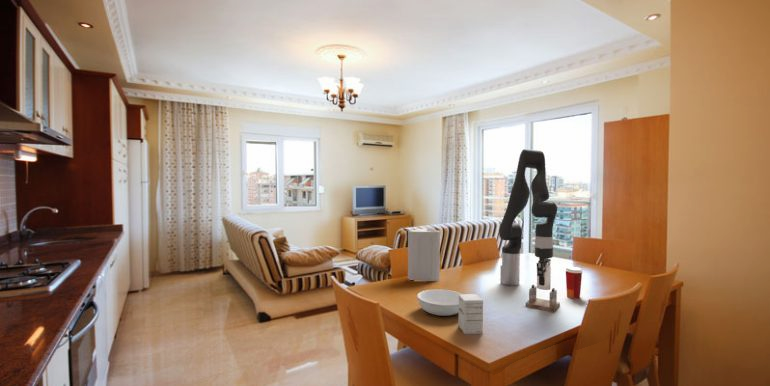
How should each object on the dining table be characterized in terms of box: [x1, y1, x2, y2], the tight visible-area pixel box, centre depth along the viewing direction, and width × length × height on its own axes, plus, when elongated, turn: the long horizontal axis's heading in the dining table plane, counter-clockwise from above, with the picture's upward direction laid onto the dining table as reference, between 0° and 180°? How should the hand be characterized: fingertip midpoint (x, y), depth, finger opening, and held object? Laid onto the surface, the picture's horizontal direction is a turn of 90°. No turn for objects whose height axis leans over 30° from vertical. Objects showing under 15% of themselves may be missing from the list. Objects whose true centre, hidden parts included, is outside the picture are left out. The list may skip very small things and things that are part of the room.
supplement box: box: [458, 293, 484, 335], centre depth 137 cm, size 7×7×13 cm
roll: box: [536, 265, 552, 291], centre depth 164 cm, size 6×6×10 cm
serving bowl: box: [417, 288, 462, 317], centre depth 156 cm, size 21×21×7 cm
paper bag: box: [407, 227, 441, 282], centre depth 210 cm, size 19×15×28 cm
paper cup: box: [564, 266, 584, 300], centre depth 177 cm, size 8×8×14 cm
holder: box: [525, 284, 561, 313], centre depth 164 cm, size 12×10×9 cm
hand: (543, 283), depth 164 cm, fingers closed on roll, 5 cm apart
